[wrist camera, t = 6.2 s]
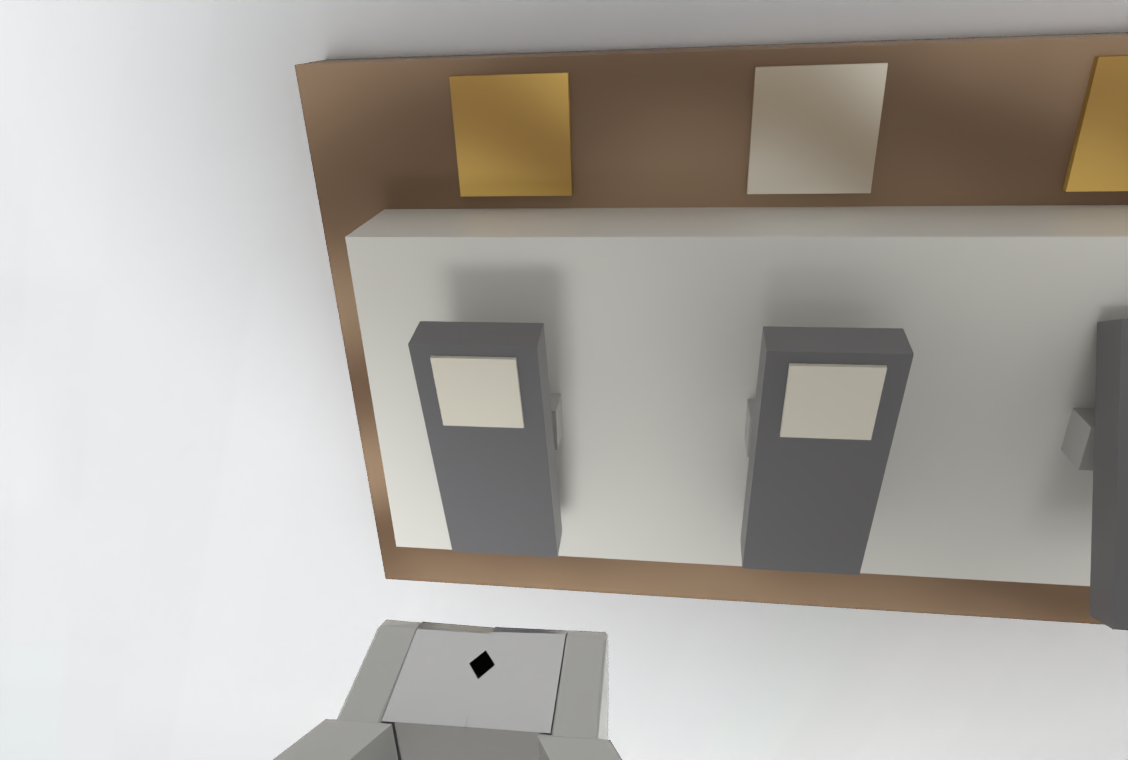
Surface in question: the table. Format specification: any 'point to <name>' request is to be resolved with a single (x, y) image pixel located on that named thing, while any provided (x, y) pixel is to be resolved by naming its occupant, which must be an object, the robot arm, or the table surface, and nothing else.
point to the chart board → (715, 204)
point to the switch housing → (731, 361)
